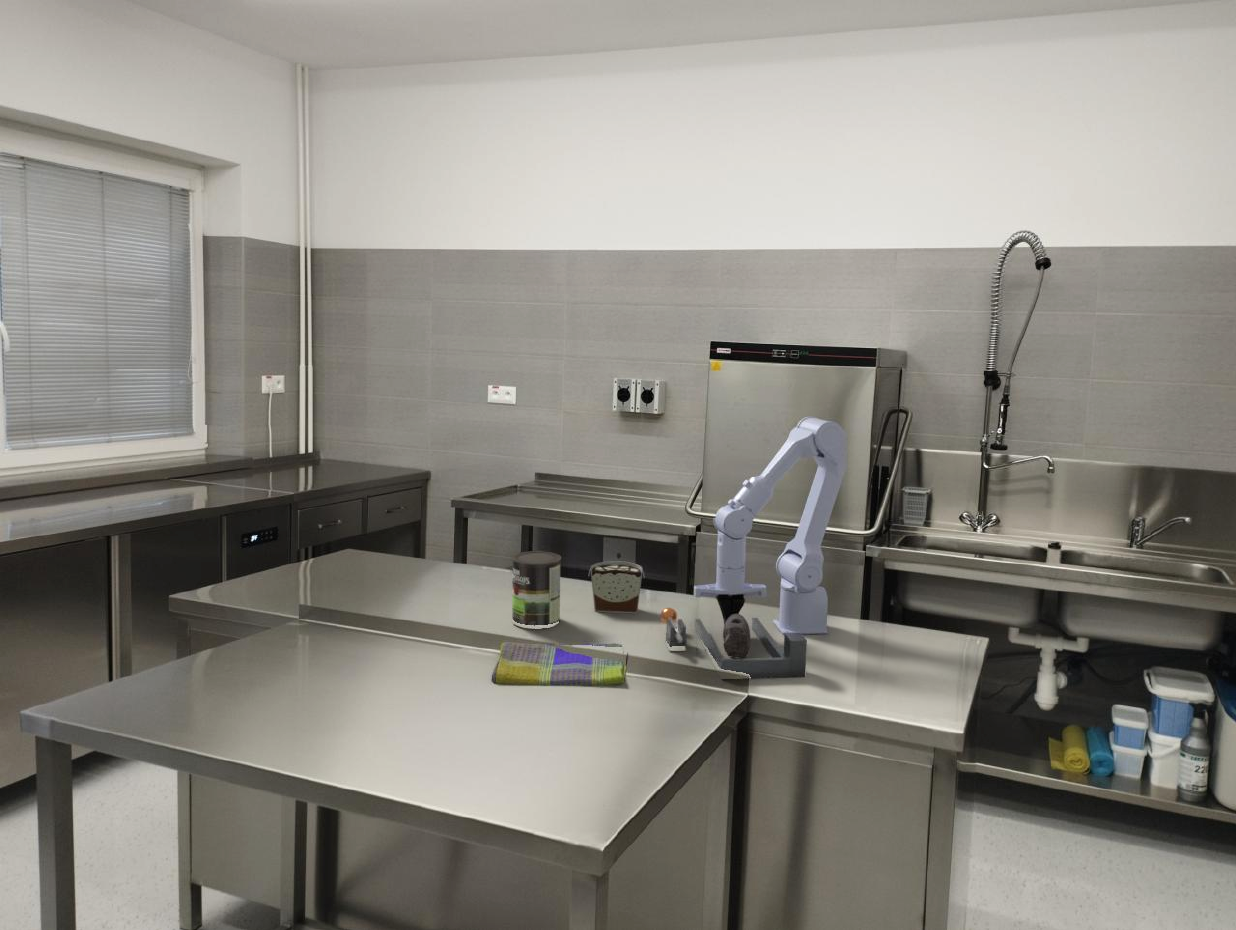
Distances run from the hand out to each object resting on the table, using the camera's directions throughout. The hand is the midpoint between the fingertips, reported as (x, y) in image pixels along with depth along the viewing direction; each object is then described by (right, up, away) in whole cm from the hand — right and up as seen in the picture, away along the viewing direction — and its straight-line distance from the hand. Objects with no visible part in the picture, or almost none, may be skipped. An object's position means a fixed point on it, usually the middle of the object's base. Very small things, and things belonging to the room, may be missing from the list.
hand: (728, 629), depth 193 cm
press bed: (-1, -3, -10) cm, 11 cm away
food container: (-23, +2, +16) cm, 28 cm away
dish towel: (-33, -5, -18) cm, 38 cm away
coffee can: (-40, 0, +7) cm, 40 cm away
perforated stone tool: (0, -3, -8) cm, 9 cm away
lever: (-12, 0, -5) cm, 13 cm away
